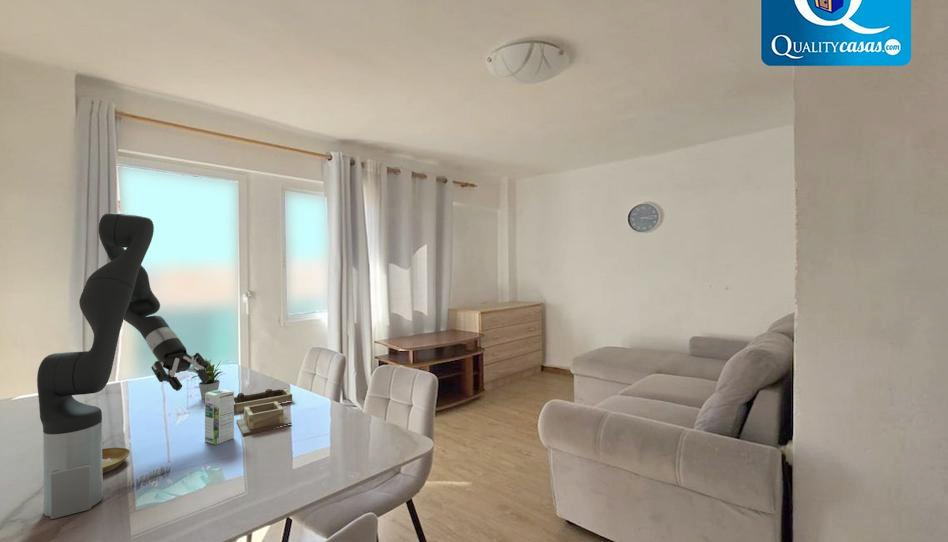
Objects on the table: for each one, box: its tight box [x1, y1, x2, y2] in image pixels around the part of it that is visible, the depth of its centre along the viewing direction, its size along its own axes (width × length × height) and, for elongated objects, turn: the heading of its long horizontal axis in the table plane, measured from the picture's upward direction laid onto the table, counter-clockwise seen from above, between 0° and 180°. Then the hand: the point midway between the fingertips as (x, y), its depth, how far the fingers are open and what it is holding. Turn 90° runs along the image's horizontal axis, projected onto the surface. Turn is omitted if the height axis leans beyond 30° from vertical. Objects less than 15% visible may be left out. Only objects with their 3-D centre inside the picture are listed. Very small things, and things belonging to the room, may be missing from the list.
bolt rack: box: [234, 388, 293, 414], centre depth 157 cm, size 10×20×3 cm, turn 127°
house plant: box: [188, 358, 229, 401], centre depth 165 cm, size 14×14×16 cm
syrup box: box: [204, 388, 235, 446], centre depth 125 cm, size 6×6×14 cm
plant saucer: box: [102, 447, 131, 474], centre depth 107 cm, size 15×15×3 cm
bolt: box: [236, 388, 283, 403], centre depth 158 cm, size 6×5×15 cm
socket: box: [236, 401, 293, 437], centre depth 137 cm, size 14×14×5 cm
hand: (193, 385), depth 126 cm, fingers open, 8 cm apart
